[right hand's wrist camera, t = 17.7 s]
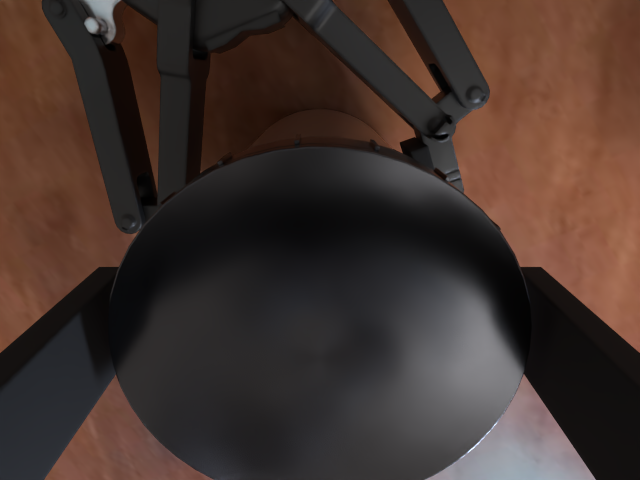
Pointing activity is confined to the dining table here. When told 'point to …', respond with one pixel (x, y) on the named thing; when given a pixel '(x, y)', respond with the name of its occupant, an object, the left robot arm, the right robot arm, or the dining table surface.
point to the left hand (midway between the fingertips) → (348, 297)
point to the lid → (319, 317)
